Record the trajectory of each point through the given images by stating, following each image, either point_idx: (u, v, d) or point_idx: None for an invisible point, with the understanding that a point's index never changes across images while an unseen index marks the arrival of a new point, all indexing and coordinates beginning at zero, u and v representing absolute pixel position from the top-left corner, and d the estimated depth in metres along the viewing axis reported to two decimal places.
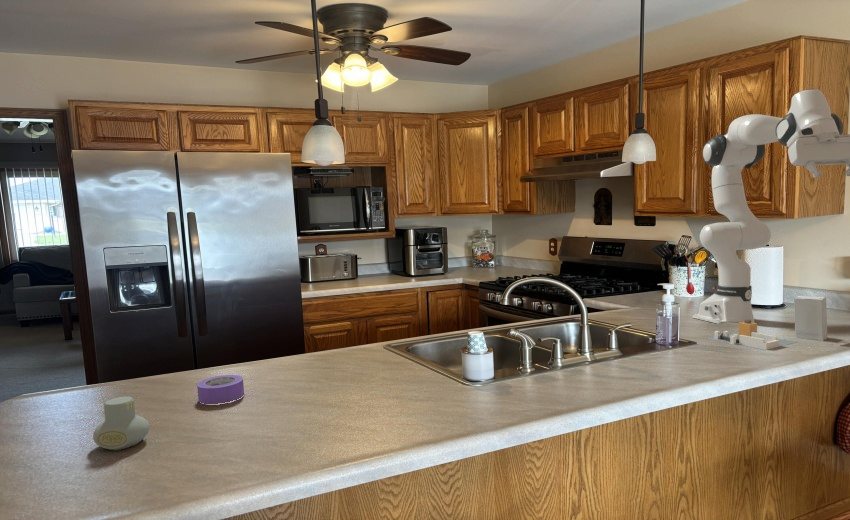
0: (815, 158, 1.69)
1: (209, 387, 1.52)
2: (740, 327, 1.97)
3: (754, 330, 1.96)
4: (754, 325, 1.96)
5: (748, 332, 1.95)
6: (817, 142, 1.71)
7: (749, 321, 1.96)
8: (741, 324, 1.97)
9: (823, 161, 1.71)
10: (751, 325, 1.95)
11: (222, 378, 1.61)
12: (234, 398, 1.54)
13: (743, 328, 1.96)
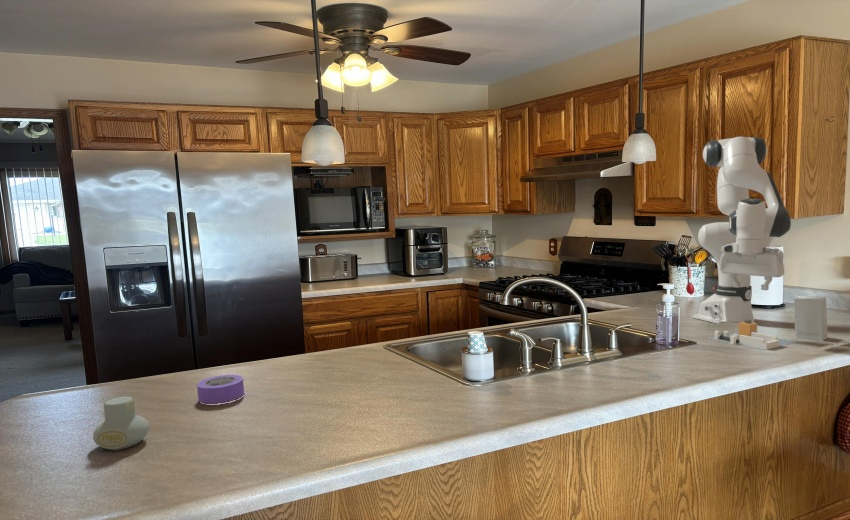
0: (733, 273, 1.98)
1: (209, 387, 1.52)
2: (740, 327, 1.97)
3: (754, 330, 1.96)
4: (754, 325, 1.96)
5: (748, 332, 1.95)
6: (739, 257, 1.96)
7: (749, 321, 1.96)
8: (741, 324, 1.97)
9: None
10: (751, 325, 1.95)
11: (222, 378, 1.61)
12: (234, 398, 1.54)
13: (743, 328, 1.96)
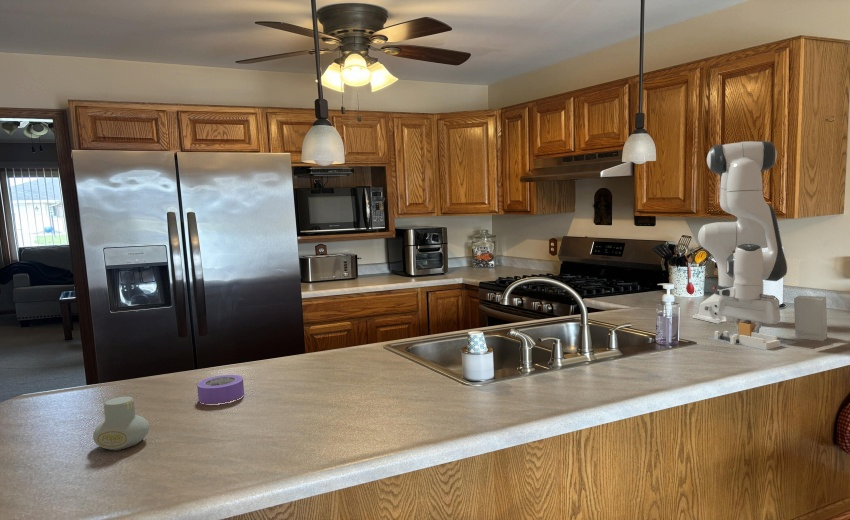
0: (730, 316, 2.00)
1: (209, 387, 1.52)
2: (740, 327, 1.97)
3: None
4: (754, 325, 1.96)
5: (748, 332, 1.95)
6: (736, 302, 1.98)
7: (749, 321, 1.96)
8: (741, 324, 1.97)
9: None
10: (751, 325, 1.95)
11: (222, 378, 1.61)
12: (234, 398, 1.54)
13: (743, 328, 1.96)
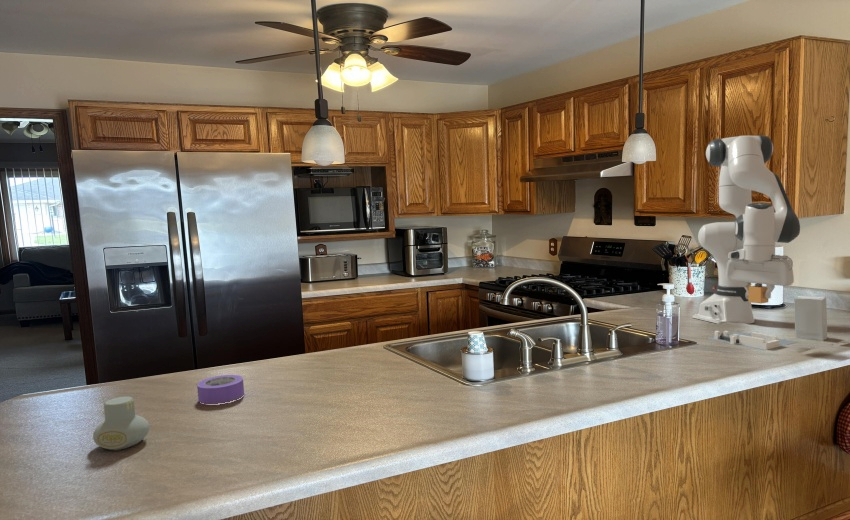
0: (740, 280, 1.89)
1: (209, 387, 1.52)
2: (750, 291, 1.86)
3: None
4: (765, 288, 1.84)
5: (759, 296, 1.83)
6: (746, 264, 1.87)
7: (760, 284, 1.85)
8: (751, 288, 1.85)
9: None
10: (762, 288, 1.83)
11: (222, 378, 1.61)
12: (234, 398, 1.54)
13: (754, 292, 1.85)
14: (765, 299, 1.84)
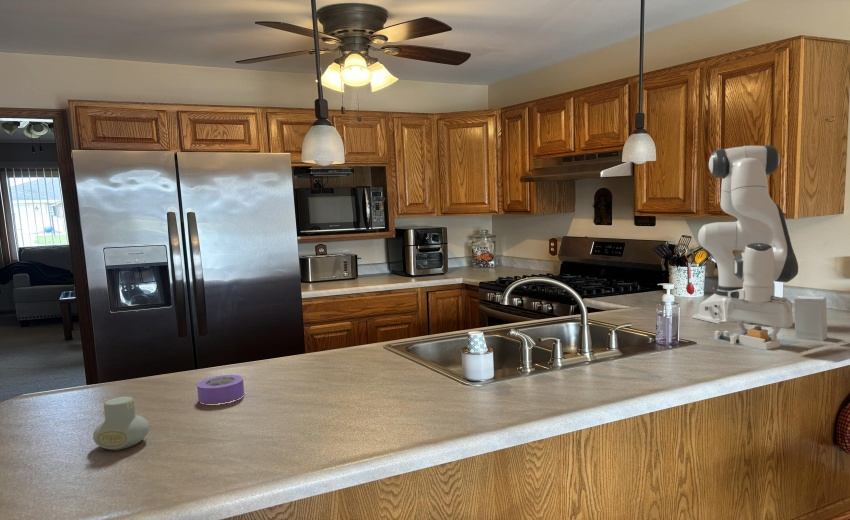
0: (740, 319, 1.90)
1: (209, 387, 1.52)
2: (750, 334, 1.87)
3: (764, 337, 1.85)
4: (765, 331, 1.85)
5: None
6: (746, 304, 1.88)
7: (759, 328, 1.86)
8: (751, 331, 1.87)
9: None
10: (761, 332, 1.85)
11: (222, 378, 1.61)
12: (234, 398, 1.54)
13: (753, 335, 1.86)
14: None
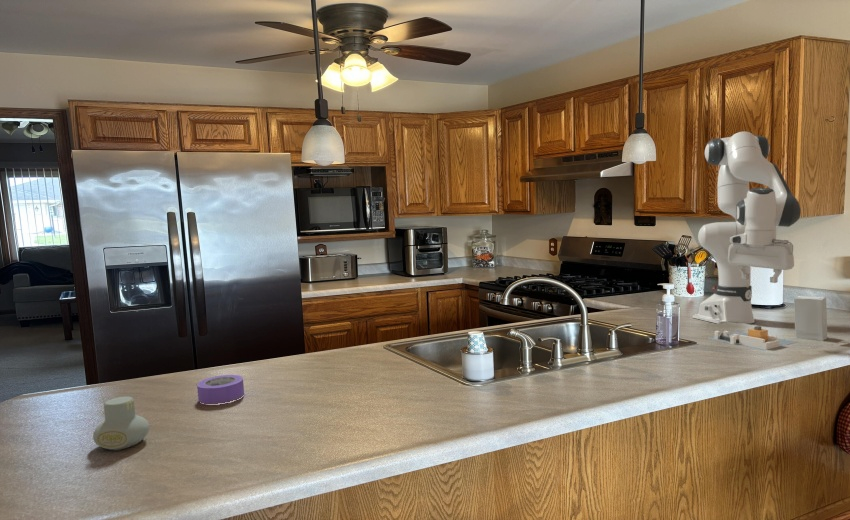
0: (741, 264, 1.92)
1: (209, 387, 1.52)
2: (750, 334, 1.87)
3: (764, 337, 1.85)
4: (765, 331, 1.85)
5: None
6: (747, 249, 1.90)
7: (759, 328, 1.86)
8: (751, 331, 1.87)
9: None
10: (761, 332, 1.85)
11: (222, 378, 1.61)
12: (234, 398, 1.54)
13: (753, 335, 1.86)
14: None
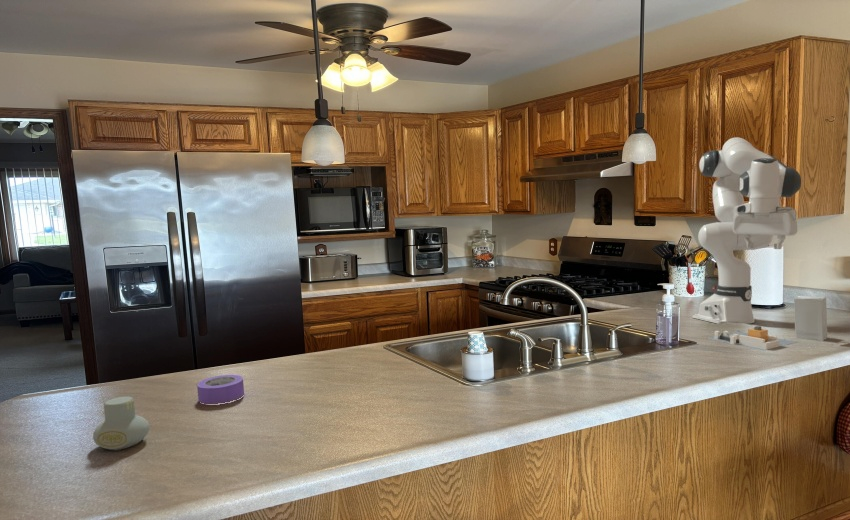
0: (746, 233, 1.98)
1: (209, 387, 1.52)
2: (750, 334, 1.87)
3: (764, 337, 1.85)
4: (765, 331, 1.85)
5: None
6: (752, 217, 1.96)
7: (759, 328, 1.86)
8: (751, 331, 1.87)
9: None
10: (761, 332, 1.85)
11: (222, 378, 1.61)
12: (234, 398, 1.54)
13: (753, 335, 1.86)
14: None
